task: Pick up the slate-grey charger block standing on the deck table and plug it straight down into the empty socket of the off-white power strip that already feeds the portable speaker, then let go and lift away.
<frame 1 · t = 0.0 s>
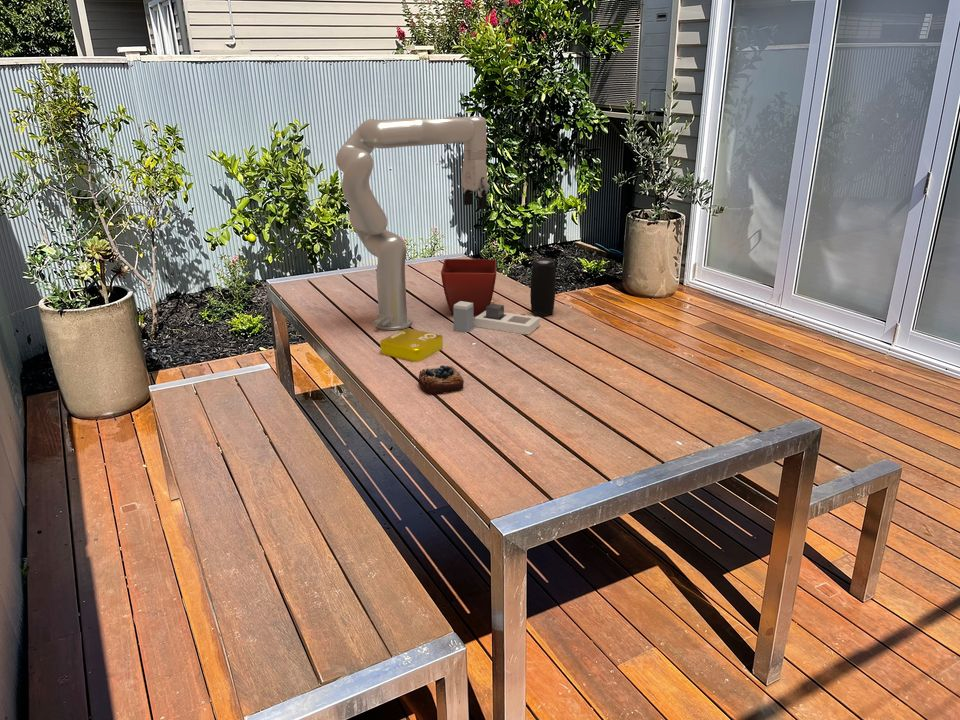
hand: (475, 206, 243), 37 cm above the table, tool pointing down, fingers open, 9 cm apart
plant pot: (469, 311, 256), on the table
portable speaker: (542, 314, 253), on the table
pastry: (441, 387, 194), on the table
element tile: (412, 352, 220), on the table
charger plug: (463, 329, 237), on the table
power strip: (506, 326, 240), on the table
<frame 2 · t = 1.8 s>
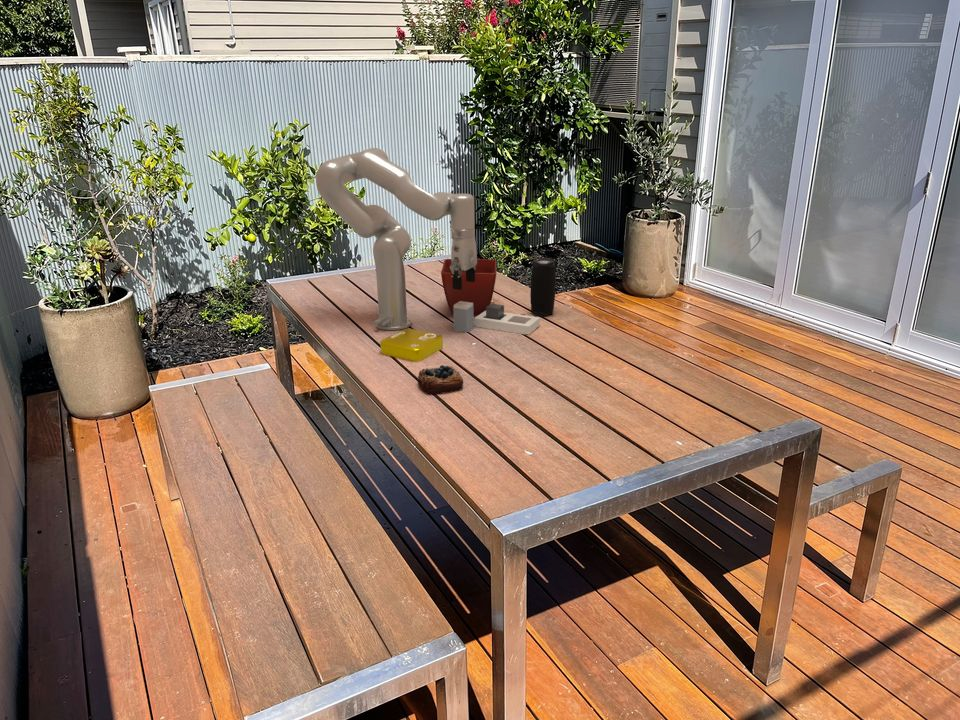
hand: (464, 285, 231), 15 cm above the table, tool pointing down, fingers open, 9 cm apart
nothing on the table moved.
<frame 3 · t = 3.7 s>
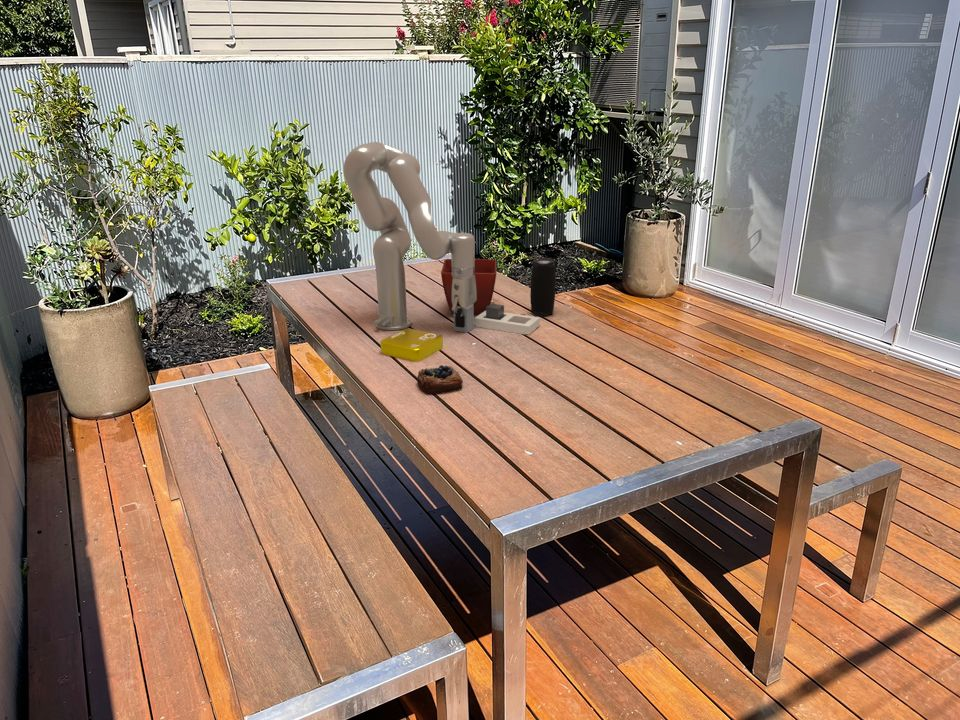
hand: (463, 323, 236), 2 cm above the table, tool pointing down, fingers closed on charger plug, 5 cm apart
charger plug: (463, 329, 237), on the table, touching gripper
everything else where it was.
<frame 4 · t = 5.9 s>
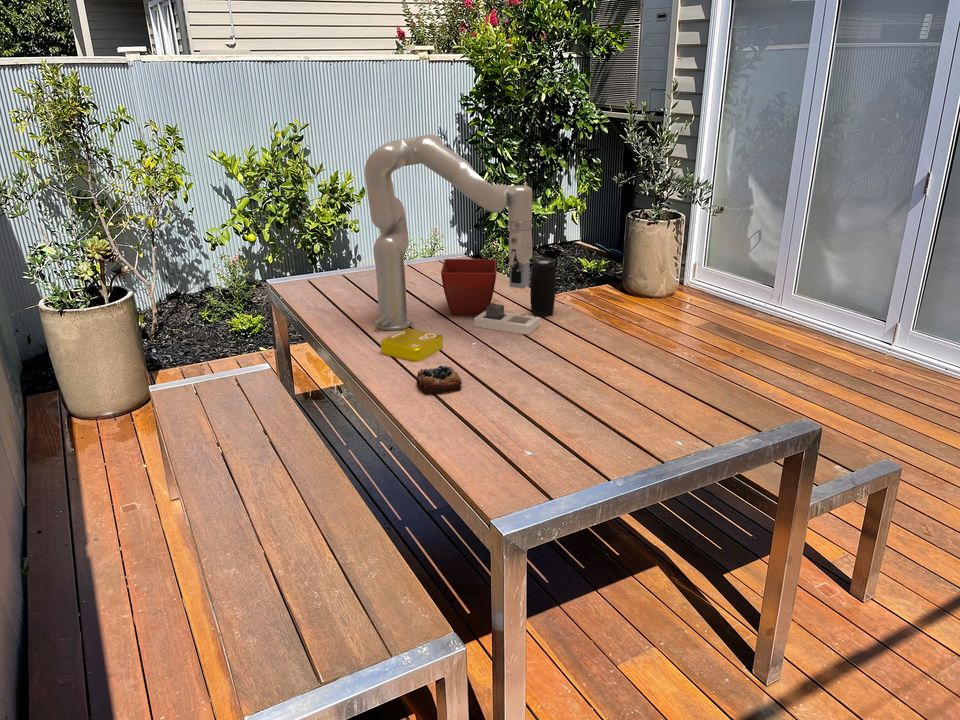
hand: (519, 280, 232), 17 cm above the table, tool pointing down, fingers closed on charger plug, 5 cm apart
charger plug: (519, 285, 232), point 15 cm above the table, touching gripper
everything else where it was.
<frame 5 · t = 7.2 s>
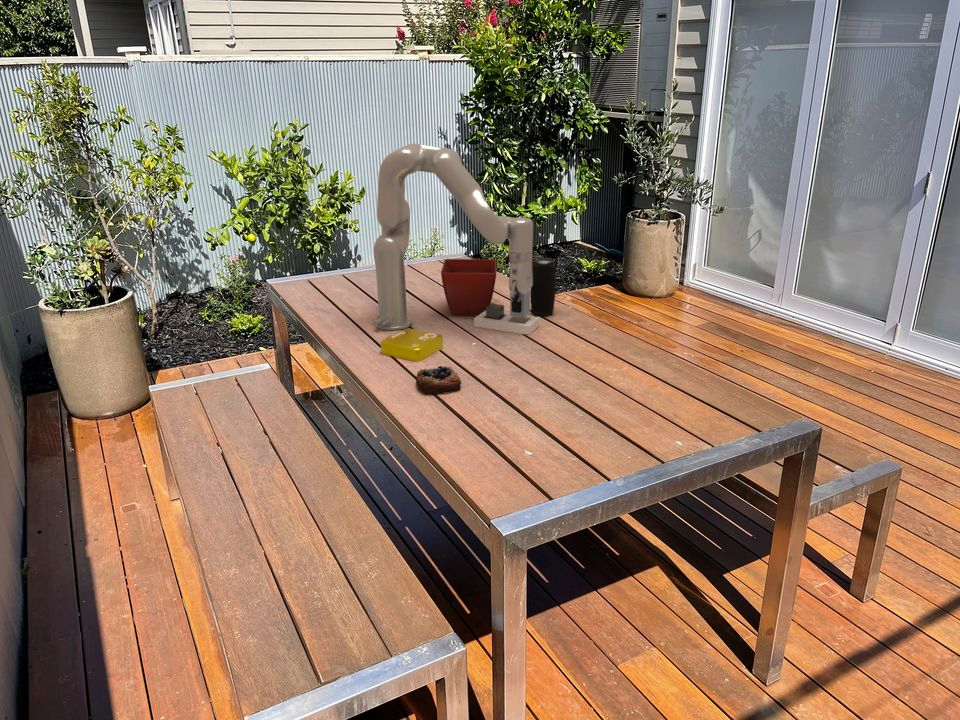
hand: (519, 309, 235), 7 cm above the table, tool pointing down, fingers closed on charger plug, 5 cm apart
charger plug: (519, 314, 236), point 5 cm above the table, touching gripper
everything else where it was.
when the fingers open (4 cm above the table, at t = 8.2 s): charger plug stays where it is, resting on power strip.
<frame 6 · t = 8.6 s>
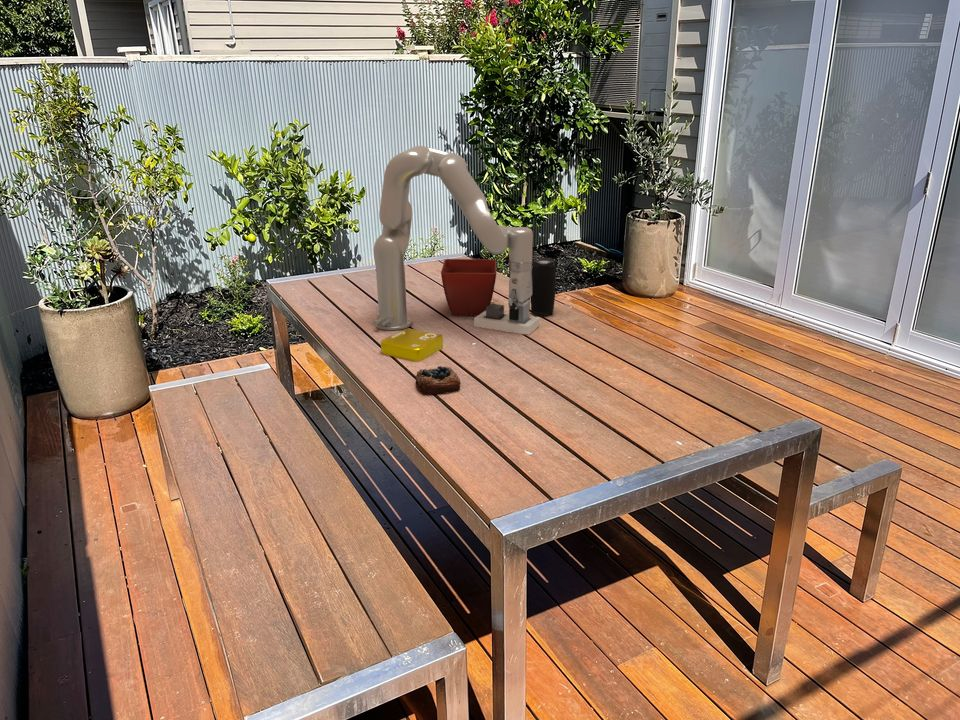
hand: (519, 315, 236), 4 cm above the table, tool pointing down, fingers open, 9 cm apart
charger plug: (519, 326, 238), point 1 cm above the table, touching power strip
everything else where it was.
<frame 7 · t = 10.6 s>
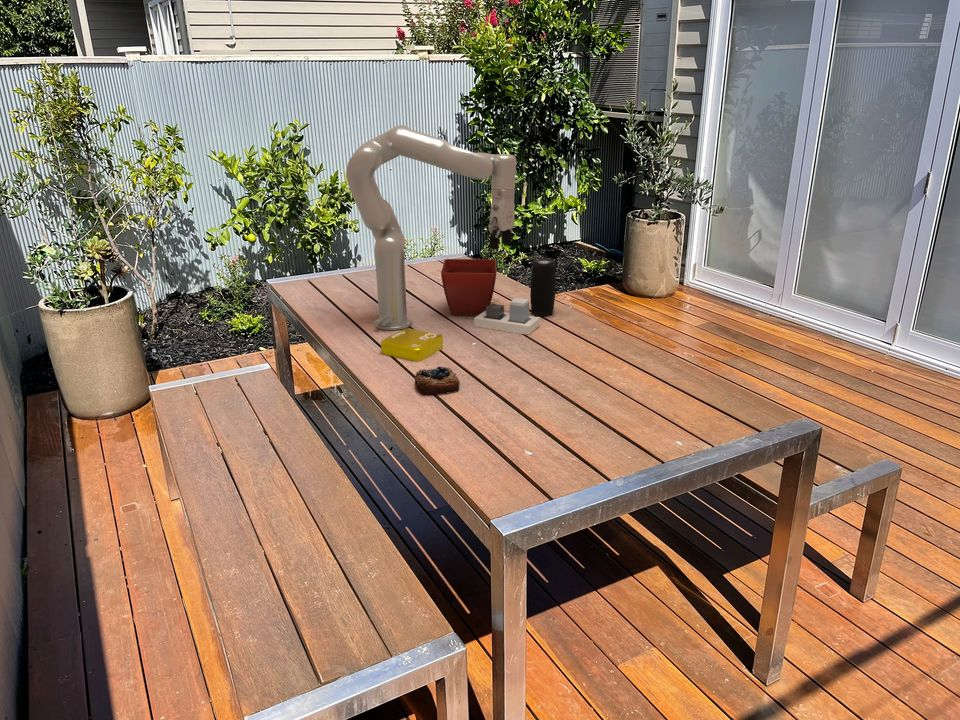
hand: (500, 246, 234), 27 cm above the table, tool pointing down, fingers open, 9 cm apart
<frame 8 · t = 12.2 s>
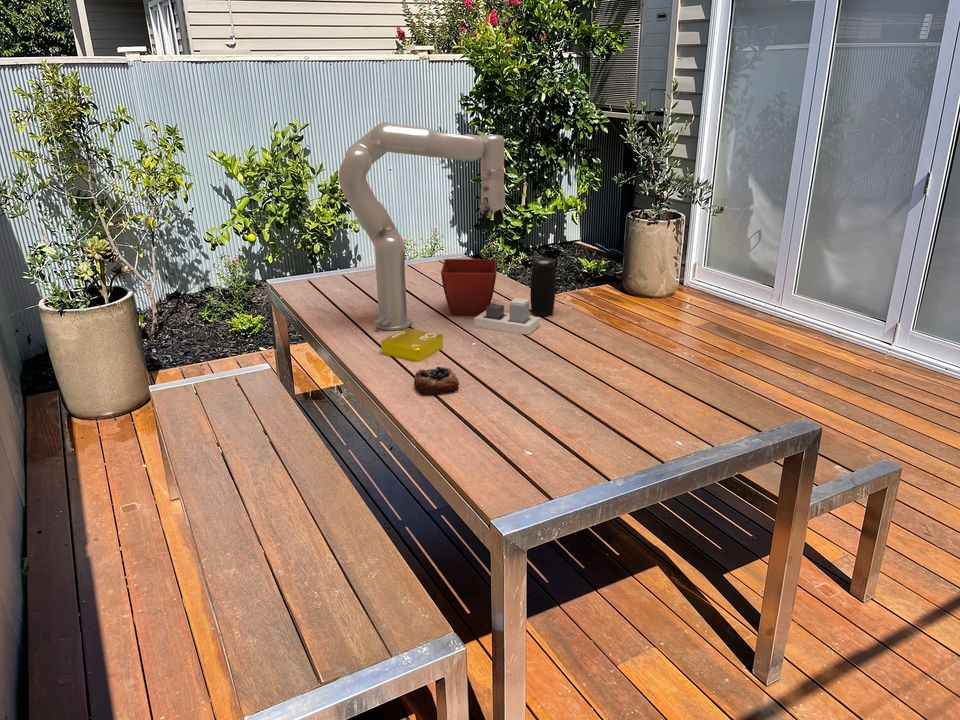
hand: (492, 227, 235), 32 cm above the table, tool pointing down, fingers open, 9 cm apart
at the end: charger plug 0.0 cm from the target spot on the power strip, point 0.7 cm above the power strip's base; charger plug tilted 0°; the gripper is holding nothing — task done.
